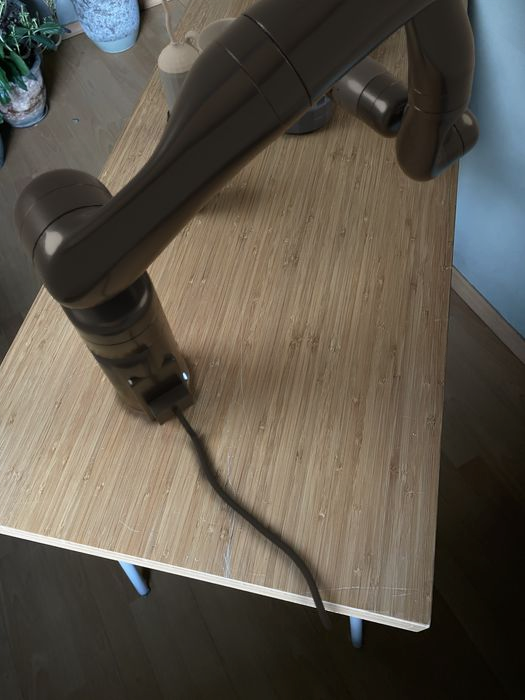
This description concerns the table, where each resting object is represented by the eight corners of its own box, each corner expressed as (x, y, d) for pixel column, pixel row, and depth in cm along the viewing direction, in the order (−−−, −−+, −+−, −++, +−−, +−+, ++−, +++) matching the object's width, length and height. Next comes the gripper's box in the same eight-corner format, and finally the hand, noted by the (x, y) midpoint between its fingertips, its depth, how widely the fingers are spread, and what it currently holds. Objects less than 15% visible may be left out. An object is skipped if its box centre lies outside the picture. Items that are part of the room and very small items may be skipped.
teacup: (273, 68, 108) (270, 26, 102) (241, 103, 104) (235, 61, 97) (212, 49, 113) (204, 7, 106) (178, 81, 109) (169, 40, 102)
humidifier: (166, 116, 104) (126, -34, 83) (211, 106, 105) (183, -47, 83) (173, 146, 100) (134, -4, 79) (220, 135, 100) (194, -18, 79)
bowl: (348, 114, 100) (349, 91, 97) (290, 146, 98) (289, 123, 94) (305, 80, 106) (305, 57, 102) (249, 109, 103) (246, 86, 99)
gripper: (397, 36, 82) (322, -12, 90) (314, 80, 79) (244, 26, 87) (391, 85, 89) (322, 35, 97) (315, 126, 85) (250, 72, 93)
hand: (286, 31), depth 92 cm, fingers closed on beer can, 4 cm apart
